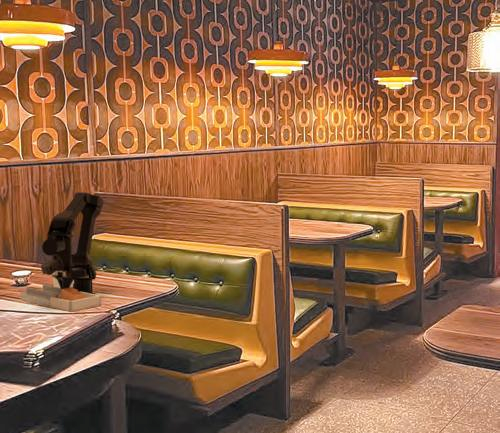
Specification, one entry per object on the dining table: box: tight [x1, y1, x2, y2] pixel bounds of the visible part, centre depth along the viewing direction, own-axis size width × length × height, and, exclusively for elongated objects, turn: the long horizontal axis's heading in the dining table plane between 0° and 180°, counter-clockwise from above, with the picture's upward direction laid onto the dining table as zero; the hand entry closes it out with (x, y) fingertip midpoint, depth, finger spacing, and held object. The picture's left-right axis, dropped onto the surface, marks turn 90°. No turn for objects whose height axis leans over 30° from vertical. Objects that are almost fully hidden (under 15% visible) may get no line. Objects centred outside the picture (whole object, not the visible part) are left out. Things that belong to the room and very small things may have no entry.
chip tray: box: [49, 292, 102, 313], centre depth 248 cm, size 13×12×4 cm
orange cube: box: [68, 291, 85, 301], centre depth 247 cm, size 4×4×4 cm
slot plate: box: [20, 284, 61, 308], centre depth 258 cm, size 13×19×4 cm
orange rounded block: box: [61, 287, 78, 300], centre depth 250 cm, size 4×4×4 cm
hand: (64, 294), depth 252 cm, fingers closed
